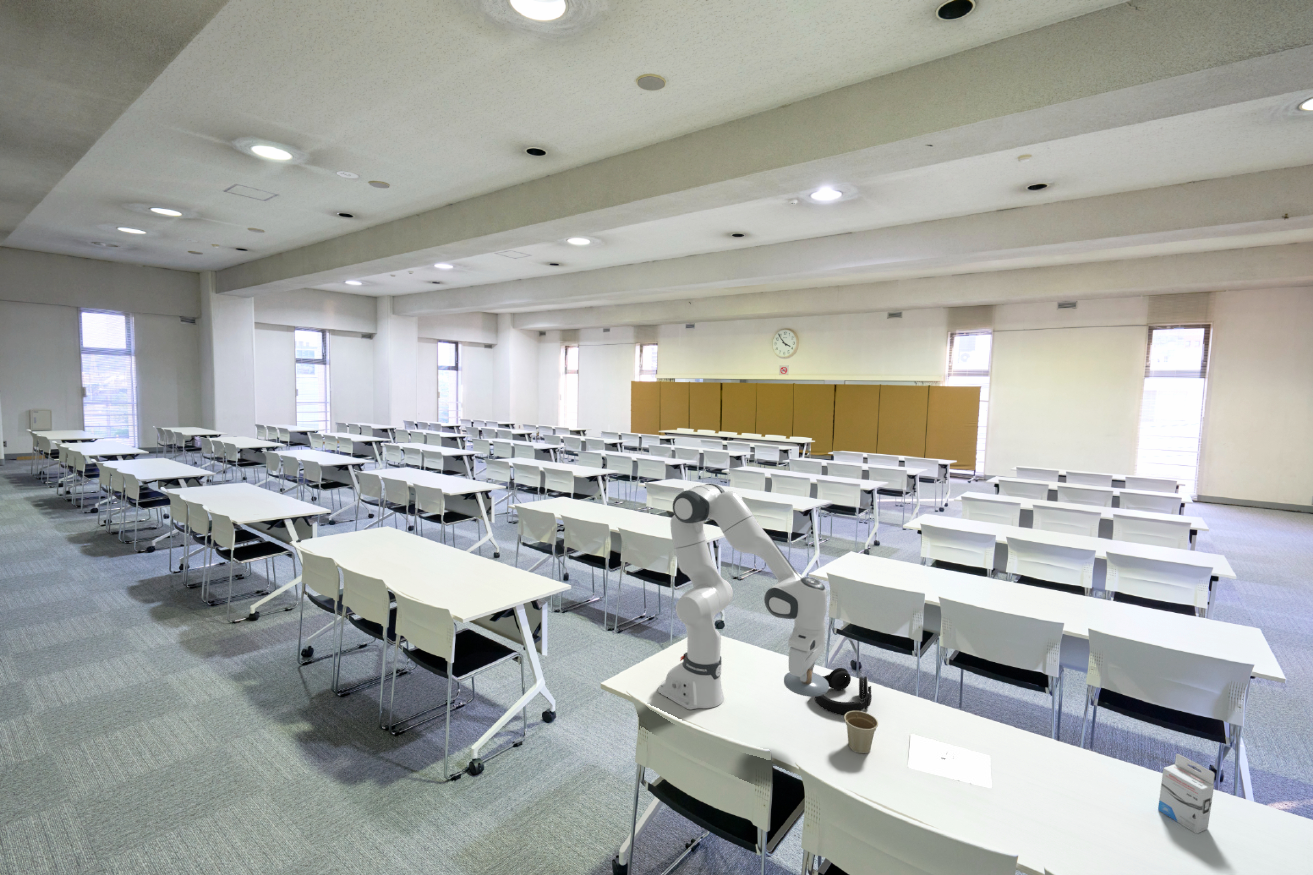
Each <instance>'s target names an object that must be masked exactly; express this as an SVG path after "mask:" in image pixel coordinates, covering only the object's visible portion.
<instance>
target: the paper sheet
mask: <svg viewBox="0 0 1313 875" xmlns="http://www.w3.org/2000/svg"><path fill="white" fill-rule="evenodd" d="M907 768H909V769H912V770H916V771H921V772H923V773H928V774H932V775H936V776H940V777H945V778H948V779H953V780H956V781H961V782H965V783H968V784H972V785H975V786H981V787H985V788H988V789H992V788H993V787H992V786H993V785H992V772H991V770H992V768H991V756H990V755H988V754H984V753H981V752H977V751H974V750H970V749H967V748H965V747H964V748H963V747H960V746H955V745H952V744H948V743H945V742H942V741H937V740H935V739H931V738H927V737H923V736H920V735H917V734H913V733H910V739H909V750H908V762H907Z"/></svg>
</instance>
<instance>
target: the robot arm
mask: <svg viewBox="0 0 1313 875" xmlns="http://www.w3.org/2000/svg"><path fill="white" fill-rule="evenodd" d="M672 512H673V514H674V515H673V516H672V517H671V519H670V533H671V539H672V545H673V548H674V553H675V557H676V560H677V564H678V567H679V570H680V572H681V573H682V574H684V575H686V576H687V577H688V579H689V580H690V581H691V583H692V586H693V588H690V589H688V590H687V591H685V592H684V593H683V594H682V595H681V596H680V597H679V599H678V600H677V602H676V604H675V613H676V616H677V618H678V619H679V621H680V622H681V623H682V624H684V627H685V630H686V636H687V639H686V640H687V648H686V649H687V650H686V651H687V652H685V653H683V655H682V656H681V657H680V662H681V663H679V664H677V665H675V666H673V667H672V668H671V669H670V670H669V671H668V673H667V675H666V677H665V679H664V680H663V681H662V682H661V683H660V684H659V685H658V689H657V692H658V694H660V693H661V694H660V695H662V696H663V697H665V698H667V697H668V699H669V700H671V701H672V702H675V703H676V704H678V705H680V706H681V707H683V708H685V709H687V710H696V709H711V708H715V707H718V706H720V705H721V704H723V702H724V700H725V696H724V692H723V688H722V681H721V679H722V678H721V675H722V656H721V651H722V650H721V647H722V645H721V644H722V643H721V642H722V641H721V640H722V636H721V633H720V632H719V631H718V629H716V627H715V618H716V615H717V614H719V613H721V612H722V611H724V610H725V609H727V607H728V606H729V605H730V603H732V601H733V597H734V590H733V588H732V585H731V584H730V582H728V580H726V579H724V578H723V577H722V576H721V574H720V573H719V572H718V570H717V568H716V566H715V564H714V562H713V559H712V556H711V552H710V549H709V546H708V542H707V537H706V534H705V531H704V523H705V522H706V521H707V520H713V521H714V522H716V524H717V526H718V527H719V529H720V530H721V533H722V534H723V535H724V538H725V539H726V541H727V542H728V543H729V545H730V546H731V547H732V548H733V549H734V550H735V551H738V552H740V553H743V554H751V555H755V556H756V557H759V558H760V559H761V560H763V561H764V562H765V565H767V567H768V568H769V570H770V571H771V573H772V574H773V575H774V576H775V578H776V579H777V582H778V583H776V584H774V585H773V586H771V587H770V588H769V589H767V591H766V592H765V594H764V599H763V600H764V605H765V608H766V609H767V611H768V613H770V614H771V615H772V616H773V617H775V618H779V619H785V620H794V625H793V629H792V632H791V635H790V636H789V638H788V640H787V646H788V647H790V648H789V651H788V671H789V672H790V674H792V675H795V676H798V677H800V681H802V682H806V681H807V677H808V675H807V673H806V672H807V670H808V669H811V670H812V674H813V673H814V668H815V664H816V662H817V660H818V659H819V658H820V657H821V655H823V654H824V651H825V648H826V647H825V643H826V642H825V640H826V638H825V637H826V635H825V634H826V621H825V616H826V614H827V604H828V602H827V601H828V600H827V599H828V598H827V589H826V586H825V585H824V583H823V582H821V580H818V579H817V578H813V577H809V576H807V577H805V576H803V575H802V574H800V573H799V572H798V571H797V570H796V569H795V568H794V566H793V565H792V564H791V562H790V561H789V560H788V559H787V557H786V555H785V554H784V553H783V551H782V550H781V549H780V547H779V546H778V545H777V543H775V541H774V540H773V538H772V537H771V536H770V535H769V534H768V533H766V531H765V530H764V529H763V528H762V526H761V525H760V524H759V523H758V522H759V521H757V519H756V517H755V515H754V514H753V513H752V511H751V509H750V508H749V507H748V505H747V504H746V503H745V501H743V499H742V498H741V497H740V496H739V495H738V494H737V493H736V492H734V491H729V490H728V491H725V489H724V488H722V487H721V486H719V484H714V483H706V484H701V485H696V486H694V487H692V488H689V489H688V490H687V489H686V490H684V491H682V492H679V493H678V494H677V495H676V496H675V497H674V499H673V503H672ZM789 672H788V673H789Z"/></svg>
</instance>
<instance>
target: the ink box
mask: <svg viewBox="0 0 1313 875" xmlns="http://www.w3.org/2000/svg"><path fill="white" fill-rule="evenodd" d="M1189 765H1190V766H1189ZM1191 766H1193V767H1195V768H1196V769H1198V770H1199V771H1198V770H1196V769H1194V768H1193V767H1191ZM1161 776H1162V777H1161V785H1160V791H1159V792H1160V793H1159V798H1158V804H1157V805H1158V807H1157V810H1158V811H1159V812H1161V813H1162V814H1163V815H1166V816H1167V817H1169V818H1170V819H1172V820H1173V821H1175V822H1177V823H1178V824H1180V825H1181V826H1183V827H1185V829H1188V830H1190V831H1192V832H1193V833H1195V834H1199V833H1201V832H1204V831H1206V830H1207V829H1209V823H1210V816H1211V809H1212V805H1213V804H1212V802H1213V796H1214V790H1215V783H1214V782H1215V777H1216V776H1215V772H1214V771H1212V770H1210V769H1208V768H1206V767H1204V766H1203V765H1201V764H1199V763H1197V762H1196V761H1193V760H1190V759H1189V758H1187V757H1185V756H1183V755H1181V754H1180V753H1175V762H1174V764H1171V765H1167V766H1165V767H1163V770H1162V775H1161Z"/></svg>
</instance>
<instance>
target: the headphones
mask: <svg viewBox="0 0 1313 875" xmlns="http://www.w3.org/2000/svg"><path fill="white" fill-rule="evenodd" d="M821 676H822V675H821ZM845 676H846V677H845ZM822 677H824V678H825V679H826V680H827V681H828V683H829V688H830V689H832V690H834V691H838V692H840V691H844V690H845V689H846V688H848V687H849V685H850V684H851V680H852V677H851V674H850V673H849V671H848V670H847V669H846V668H844V667H837V668H834V669H833V670H832V671H831V672H830V673H829V674H826V675H823V676H822ZM872 698H873V697H872V686H871V685H869V679H868V677H867V676H864V677H862V676H860V677H859V678H858V699H859V700H861V701H862V700H863V701H862V702H861V701H838V700H834V699H831V698H830V697H827V696H826V694H824V695H822V696H817V697H814V701H815V703H816V704H817V706H818V707H820V708H821V709H822V710H825V711H826V712H829V713H831V714H834V715H839V716H843V717H844V716H845V714H846V713H847V712H849V711H863V710H867V709H868V708H869V707H870V706H871V704H872Z"/></svg>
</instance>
